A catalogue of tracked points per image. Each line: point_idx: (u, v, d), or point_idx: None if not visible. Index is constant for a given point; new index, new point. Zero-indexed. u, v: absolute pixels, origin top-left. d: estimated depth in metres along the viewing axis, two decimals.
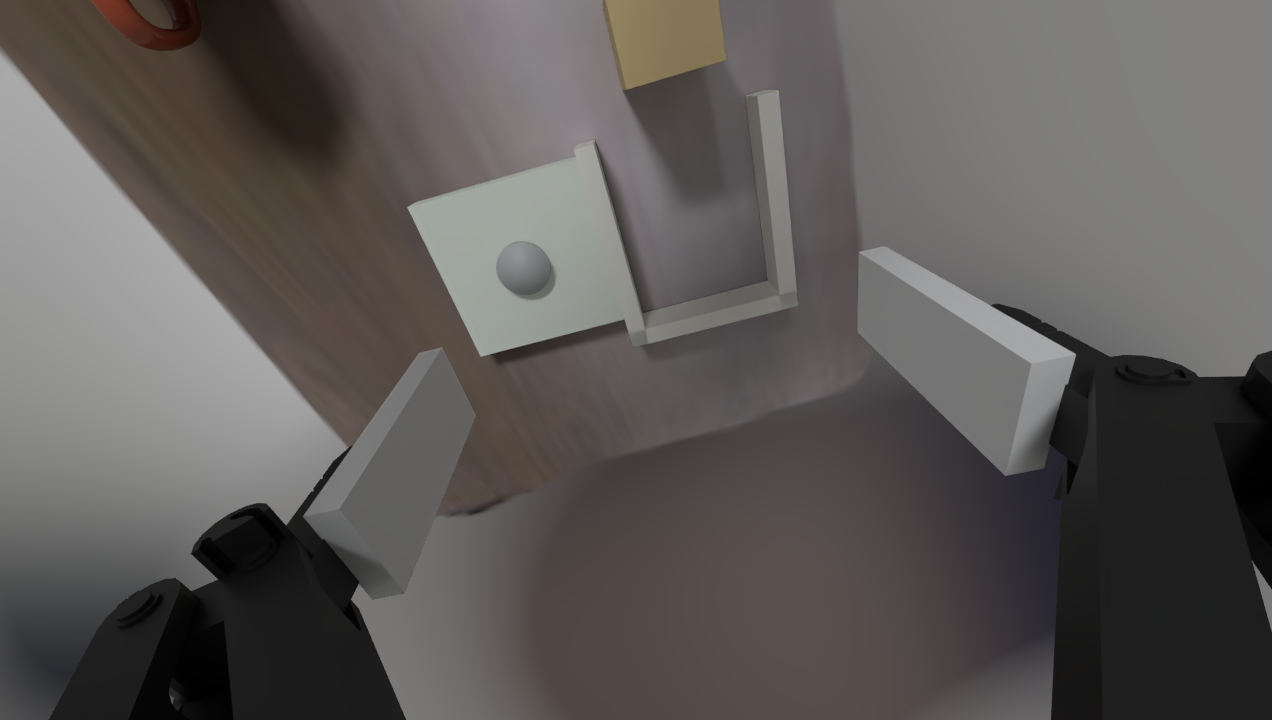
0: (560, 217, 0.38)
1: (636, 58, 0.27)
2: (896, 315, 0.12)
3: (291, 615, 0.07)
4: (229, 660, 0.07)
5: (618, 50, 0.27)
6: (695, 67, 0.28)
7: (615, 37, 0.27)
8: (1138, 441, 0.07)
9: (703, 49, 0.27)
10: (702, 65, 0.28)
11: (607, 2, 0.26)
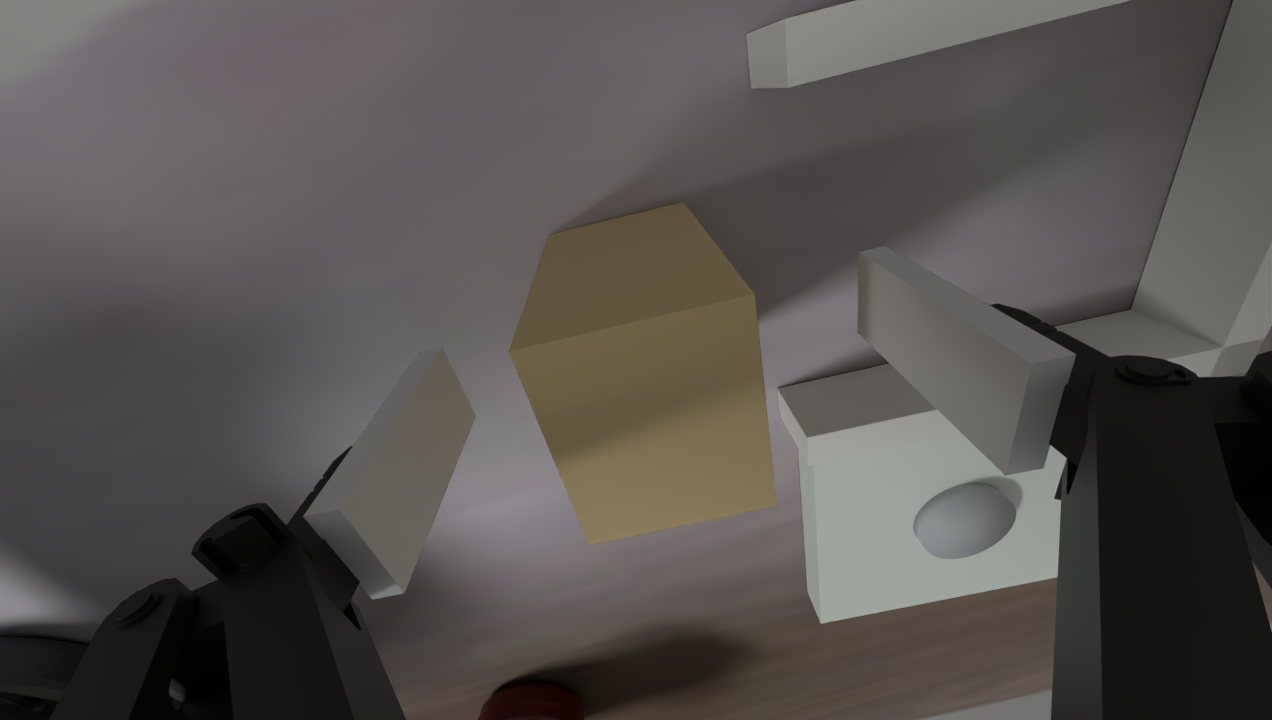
0: (899, 465, 0.21)
1: (719, 491, 0.12)
2: (896, 315, 0.12)
3: (291, 615, 0.07)
4: (229, 660, 0.07)
5: (700, 519, 0.12)
6: (759, 372, 0.10)
7: (676, 524, 0.12)
8: (1138, 441, 0.07)
9: (720, 355, 0.10)
10: (757, 355, 0.10)
11: (616, 537, 0.12)
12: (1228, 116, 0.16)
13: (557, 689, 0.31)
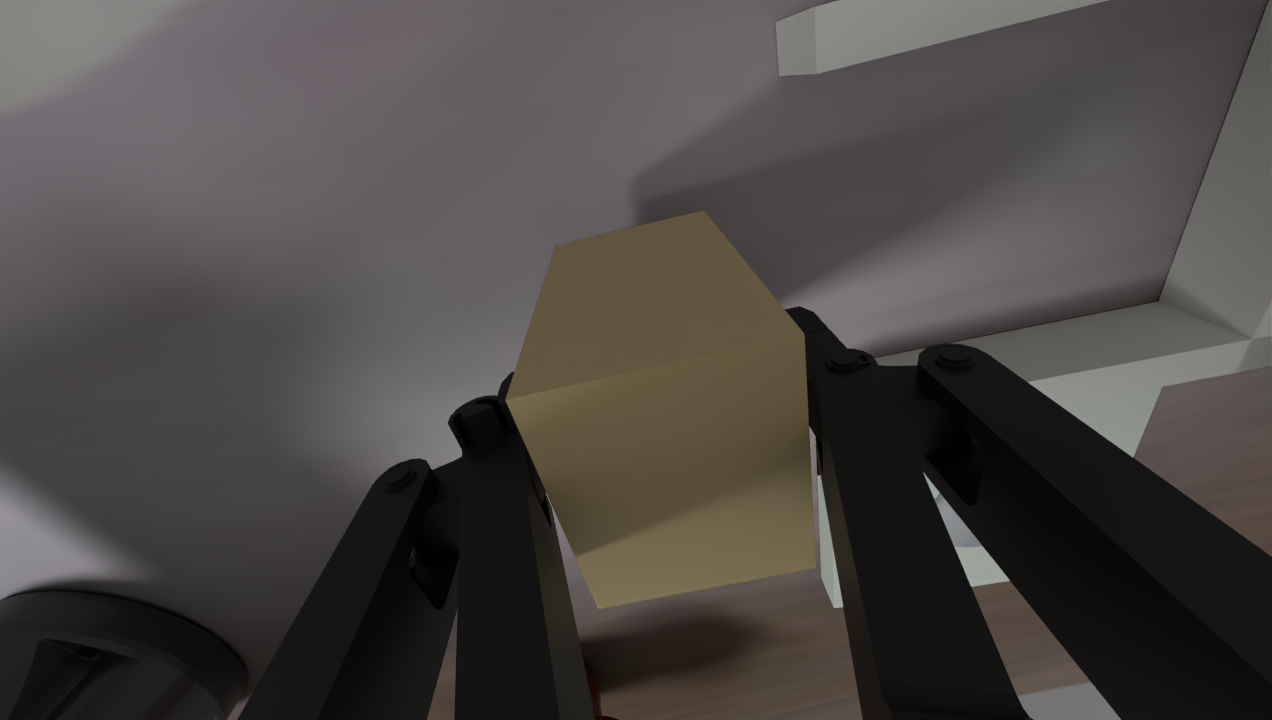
0: None
1: (751, 552, 0.10)
2: None
3: (507, 500, 0.08)
4: (461, 519, 0.08)
5: (727, 582, 0.11)
6: (804, 423, 0.08)
7: (699, 587, 0.11)
8: (851, 420, 0.08)
9: (759, 404, 0.08)
10: (803, 404, 0.08)
11: (629, 601, 0.11)
12: (1265, 104, 0.16)
13: None
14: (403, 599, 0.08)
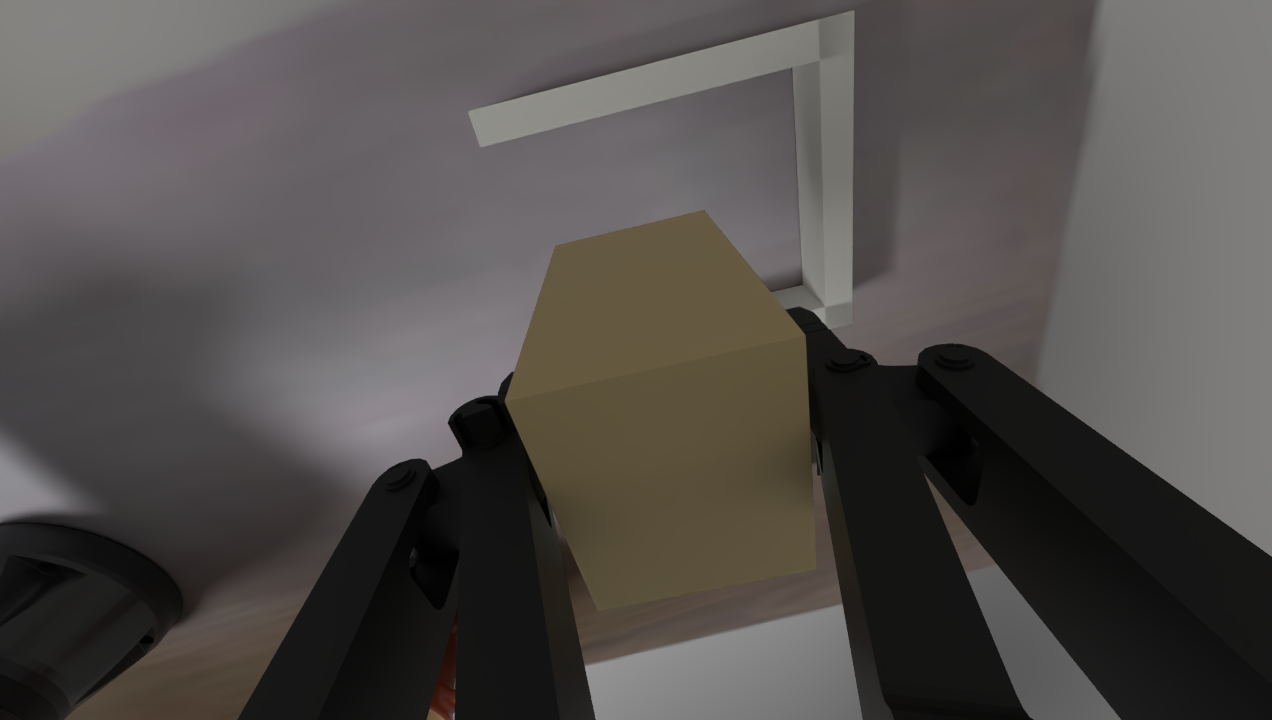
0: None
1: (751, 555, 0.10)
2: None
3: (507, 500, 0.08)
4: (461, 519, 0.08)
5: (727, 584, 0.11)
6: (805, 425, 0.08)
7: (699, 589, 0.11)
8: (851, 420, 0.08)
9: (760, 406, 0.08)
10: (804, 406, 0.08)
11: (629, 603, 0.11)
12: (803, 157, 0.25)
13: None
14: (403, 599, 0.08)
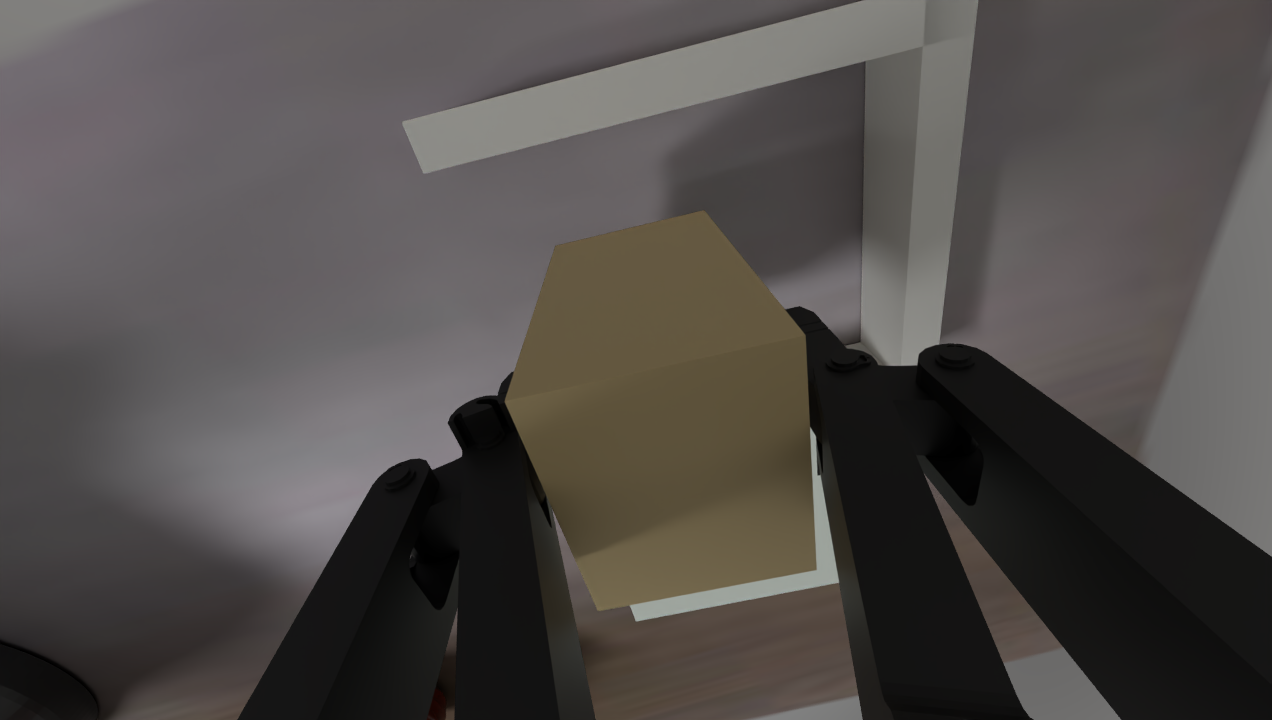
0: None
1: (751, 554, 0.10)
2: None
3: (507, 500, 0.08)
4: (461, 519, 0.08)
5: (727, 584, 0.11)
6: (805, 425, 0.08)
7: (699, 589, 0.11)
8: (851, 420, 0.08)
9: (760, 406, 0.08)
10: (804, 406, 0.08)
11: (629, 603, 0.11)
12: (876, 182, 0.18)
13: None
14: (403, 599, 0.08)
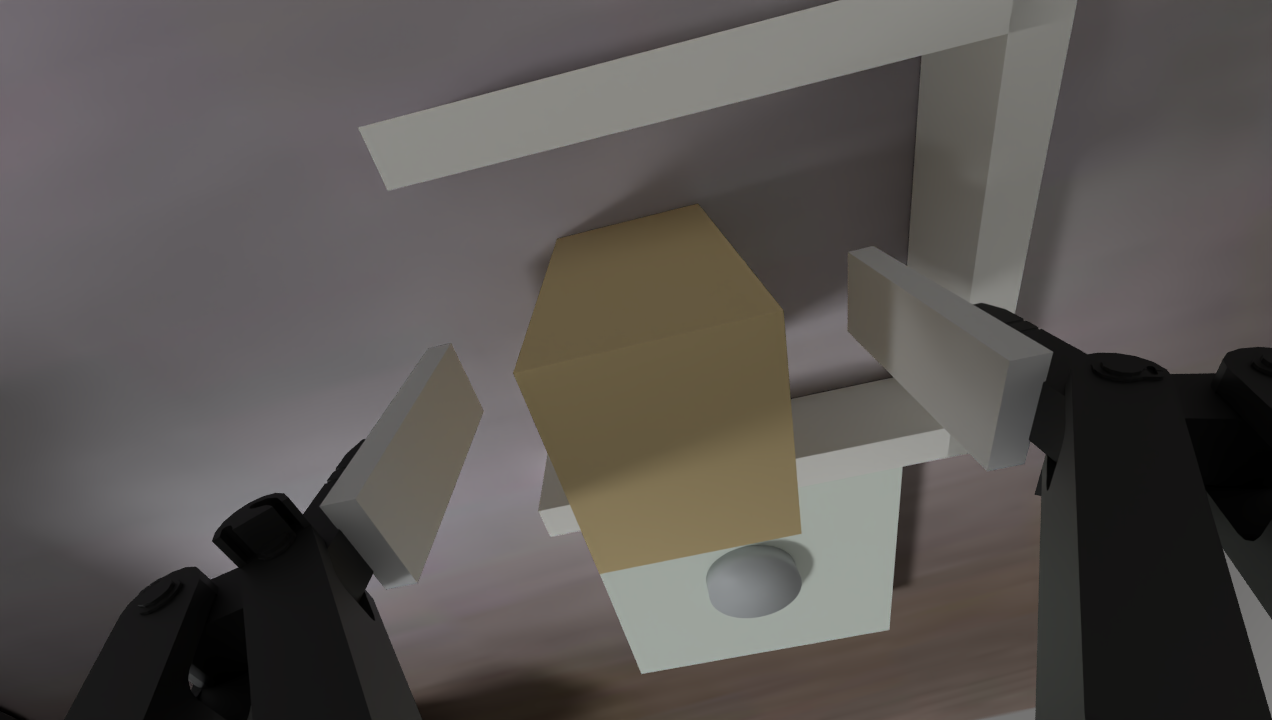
0: None
1: (740, 518, 0.11)
2: (883, 314, 0.13)
3: (308, 604, 0.07)
4: (248, 646, 0.07)
5: (719, 548, 0.11)
6: (786, 394, 0.09)
7: (693, 552, 0.12)
8: (1114, 437, 0.07)
9: (744, 376, 0.09)
10: (784, 376, 0.09)
11: (628, 566, 0.12)
12: (929, 198, 0.15)
13: None
14: None
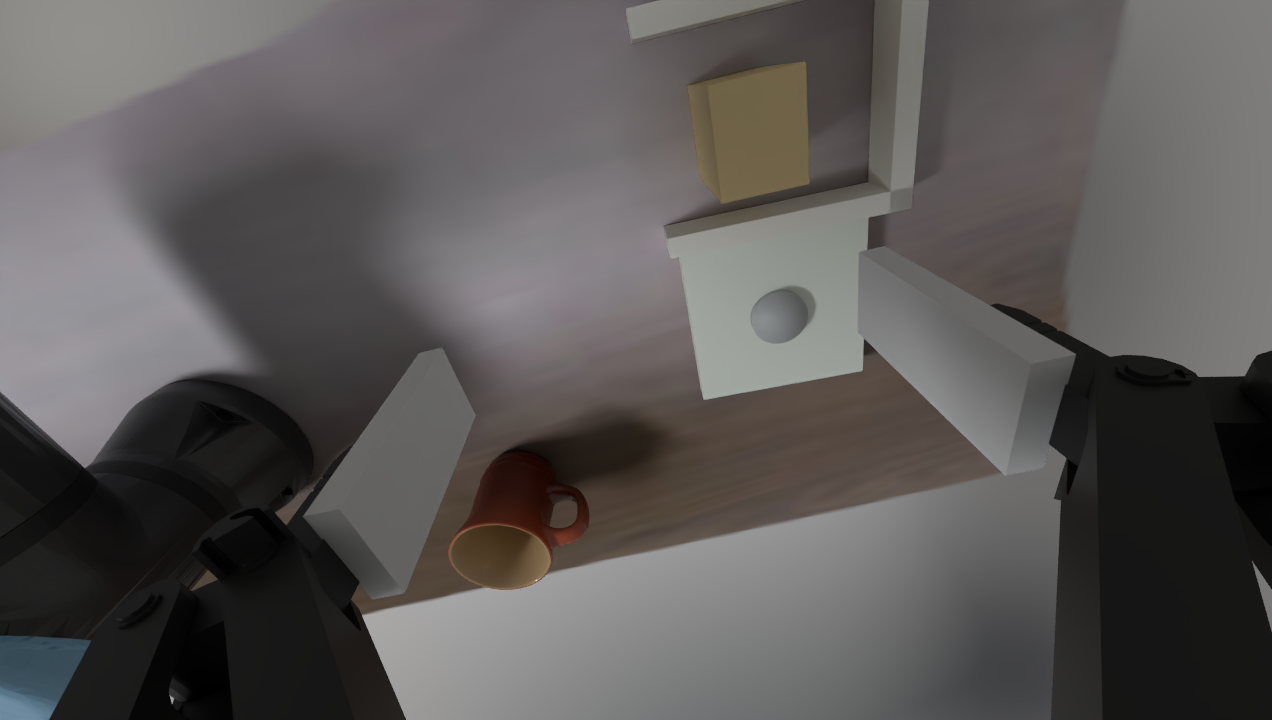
0: (733, 274, 0.37)
1: (784, 172, 0.26)
2: (896, 315, 0.12)
3: (291, 615, 0.07)
4: (229, 660, 0.07)
5: (774, 190, 0.27)
6: (805, 102, 0.25)
7: (763, 193, 0.27)
8: (1138, 441, 0.07)
9: (790, 92, 0.24)
10: (805, 93, 0.24)
11: (734, 199, 0.27)
12: (879, 62, 0.31)
13: (538, 456, 0.47)
14: None
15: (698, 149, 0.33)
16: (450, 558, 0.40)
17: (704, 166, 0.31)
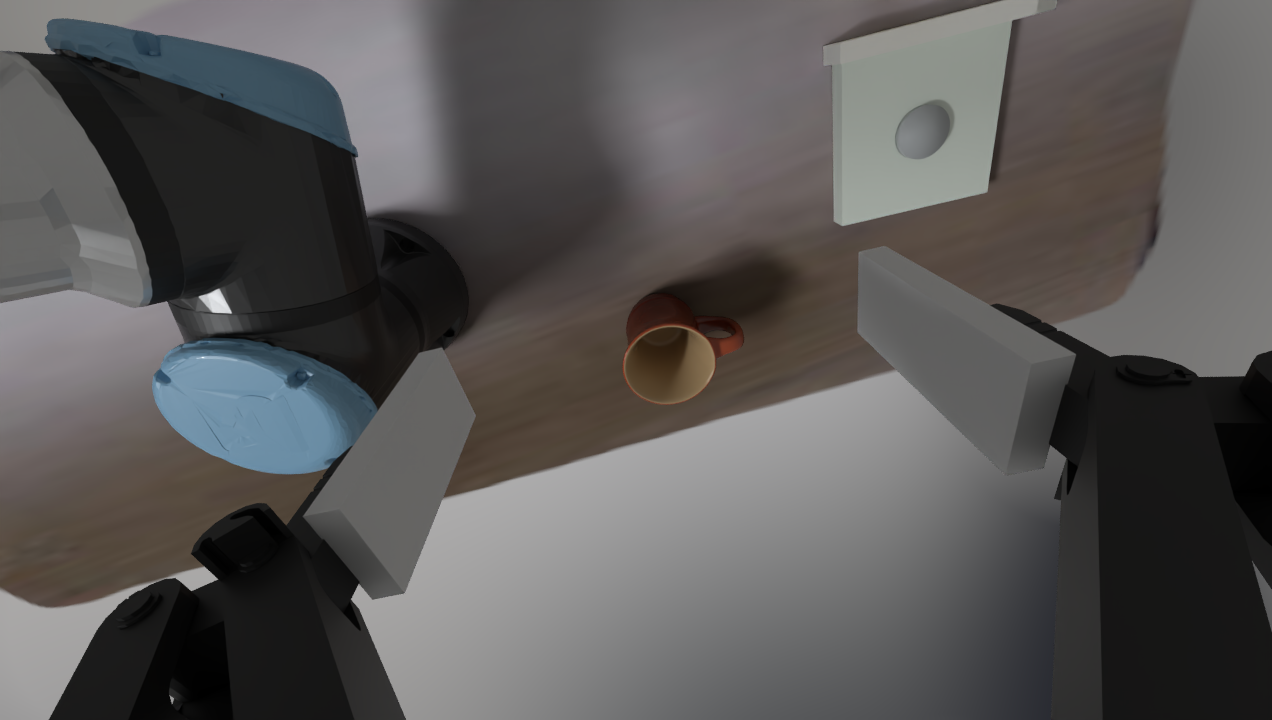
0: (886, 87, 0.41)
1: None
2: (896, 315, 0.12)
3: (291, 615, 0.07)
4: (229, 660, 0.07)
5: None
6: None
7: None
8: (1138, 441, 0.07)
9: None
10: None
11: None
12: None
13: (678, 298, 0.51)
14: None
15: None
16: (624, 367, 0.44)
17: None
